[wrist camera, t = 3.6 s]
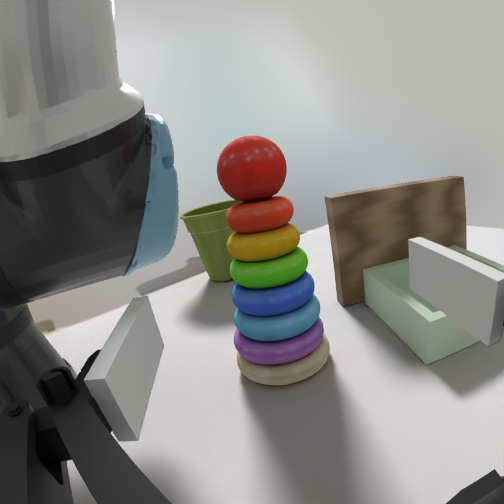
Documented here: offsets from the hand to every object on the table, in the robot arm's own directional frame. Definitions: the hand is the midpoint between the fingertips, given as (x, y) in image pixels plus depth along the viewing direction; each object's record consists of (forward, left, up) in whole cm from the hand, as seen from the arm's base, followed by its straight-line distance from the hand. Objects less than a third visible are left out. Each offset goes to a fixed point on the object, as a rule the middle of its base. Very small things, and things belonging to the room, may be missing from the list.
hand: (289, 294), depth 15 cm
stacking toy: (0, +10, -11) cm, 14 cm away
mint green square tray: (+17, +10, -10) cm, 22 cm away
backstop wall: (+17, +18, -10) cm, 27 cm away
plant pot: (-4, +37, -11) cm, 38 cm away
